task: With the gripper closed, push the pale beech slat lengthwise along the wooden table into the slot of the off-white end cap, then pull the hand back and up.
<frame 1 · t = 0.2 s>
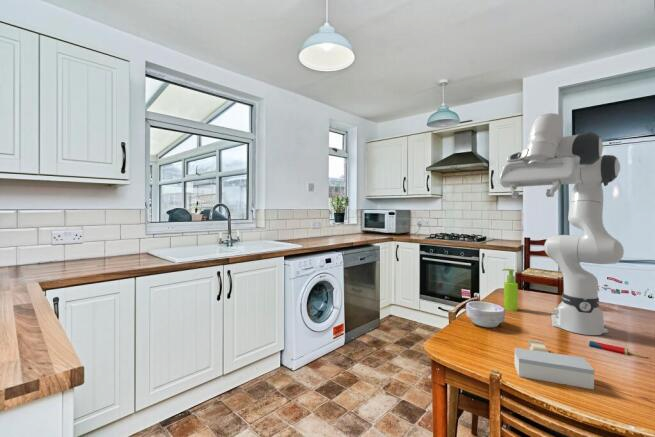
hand: (531, 196, 95), 54 cm above the table, tool tilted 30°, fingers open, 8 cm apart
soap dispenser: (509, 309, 159), on the table
popsicle: (616, 352, 111), on the table
paper bowls: (484, 324, 138), on the table
slat: (540, 358, 107), on the table
end cap: (551, 375, 95), on the table
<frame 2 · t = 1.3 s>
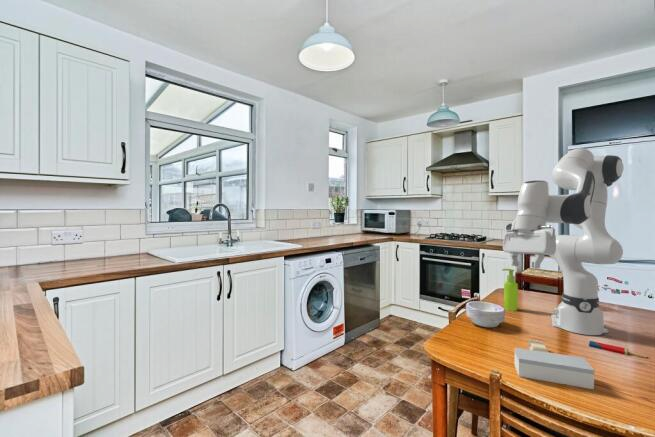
hand: (524, 267, 106), 31 cm above the table, tool pointing down, fingers open, 8 cm apart
nothing on the table moved.
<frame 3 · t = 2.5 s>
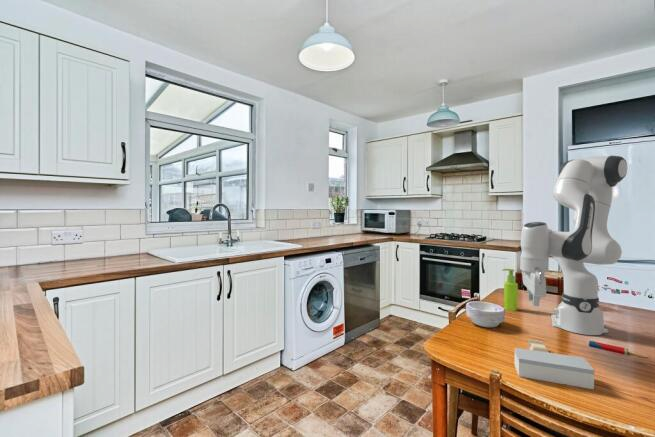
hand: (533, 302, 118), 15 cm above the table, tool pointing down, fingers open, 6 cm apart
nothing on the table moved.
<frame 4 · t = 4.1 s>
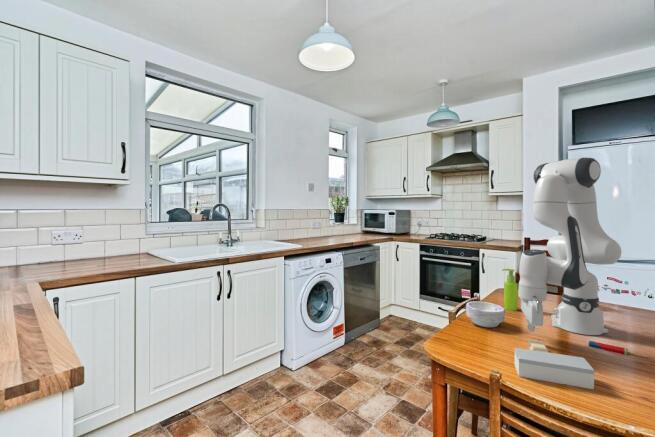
hand: (530, 330, 118), 5 cm above the table, tool pointing down, fingers closed
nothing on the table moved.
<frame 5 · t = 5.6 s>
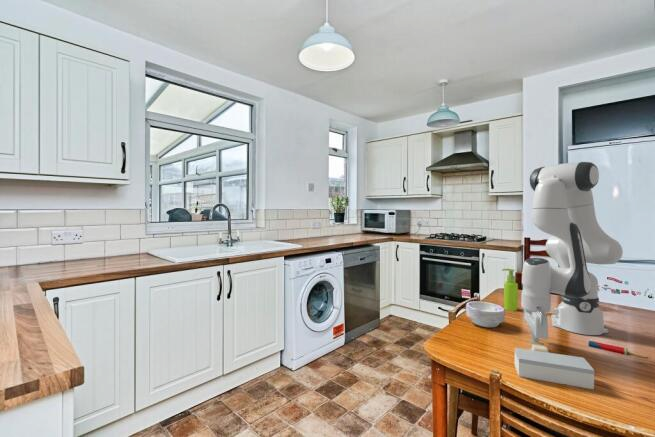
hand: (535, 341, 114), 2 cm above the table, tool pointing down, fingers closed
slat: (541, 360, 105), on the table
everything else where it was.
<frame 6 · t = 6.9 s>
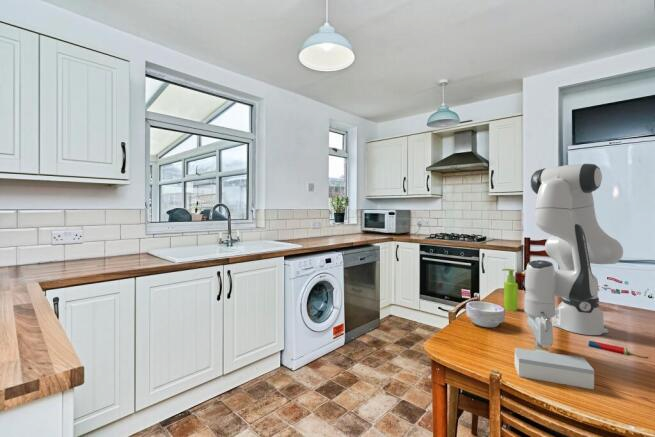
hand: (538, 348, 109), 2 cm above the table, tool pointing down, fingers closed
slat: (546, 366, 101), on the table, touching end cap, gripper
everything else where it was.
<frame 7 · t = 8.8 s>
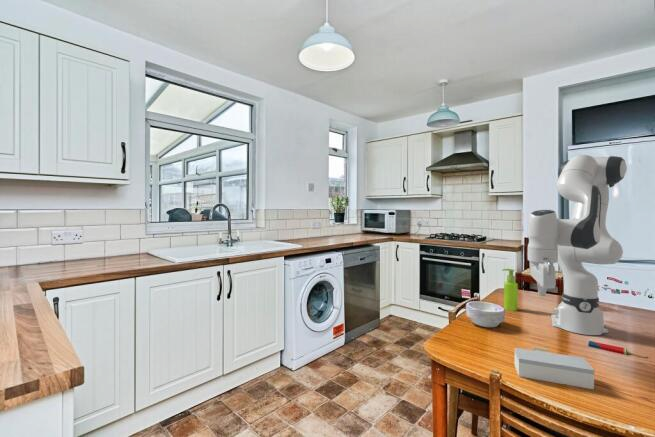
hand: (542, 295, 112), 20 cm above the table, tool pointing down, fingers closed
slat: (546, 367, 101), on the table
everything else where it was.
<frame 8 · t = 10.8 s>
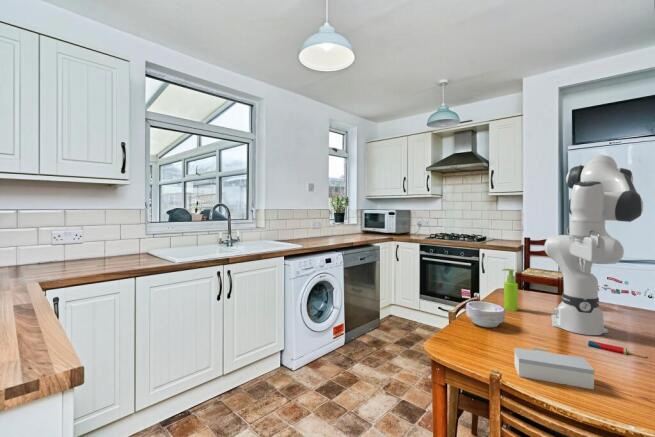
hand: (585, 272, 105), 29 cm above the table, tool pointing down, fingers closed
nothing on the table moved.
at the end: slat 0.4 cm from the target spot on the table beside the end cap, on the table; slat tilted 0°; slat moved 6.4 cm from its start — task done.
